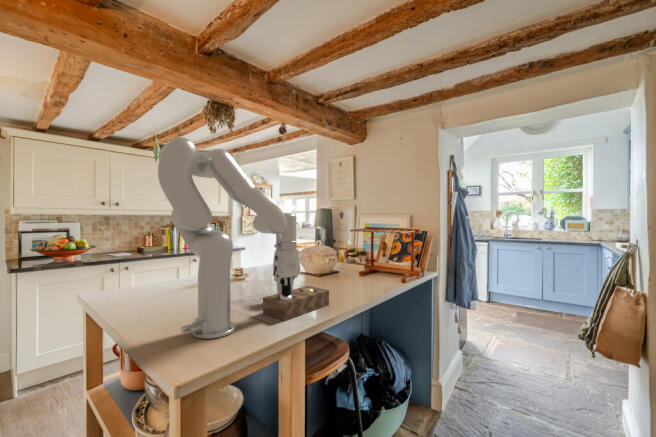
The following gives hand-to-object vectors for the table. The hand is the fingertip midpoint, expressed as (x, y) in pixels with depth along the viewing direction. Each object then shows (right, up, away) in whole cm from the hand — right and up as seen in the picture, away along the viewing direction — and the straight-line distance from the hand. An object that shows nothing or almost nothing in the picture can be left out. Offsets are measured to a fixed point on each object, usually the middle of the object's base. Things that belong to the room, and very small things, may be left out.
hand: (286, 295), depth 109 cm
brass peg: (+8, -6, +9) cm, 13 cm away
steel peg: (0, -6, 0) cm, 6 cm away
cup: (-3, -7, +15) cm, 17 cm away
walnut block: (+4, -7, +5) cm, 9 cm away
